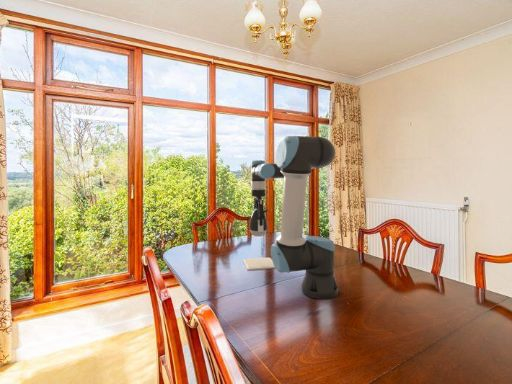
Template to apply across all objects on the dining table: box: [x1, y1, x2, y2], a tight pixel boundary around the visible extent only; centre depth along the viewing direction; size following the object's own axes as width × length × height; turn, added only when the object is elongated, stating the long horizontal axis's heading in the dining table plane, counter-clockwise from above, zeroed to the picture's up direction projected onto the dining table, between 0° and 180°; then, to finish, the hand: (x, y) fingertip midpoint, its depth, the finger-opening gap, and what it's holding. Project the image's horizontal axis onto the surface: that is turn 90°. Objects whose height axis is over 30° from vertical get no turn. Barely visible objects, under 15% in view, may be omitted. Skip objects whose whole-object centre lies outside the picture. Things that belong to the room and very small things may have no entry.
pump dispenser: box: [248, 208, 269, 237], centre depth 154 cm, size 10×10×15 cm
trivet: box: [242, 257, 276, 271], centre depth 156 cm, size 16×16×1 cm
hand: (258, 229), depth 155 cm, fingers closed on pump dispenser, 10 cm apart
